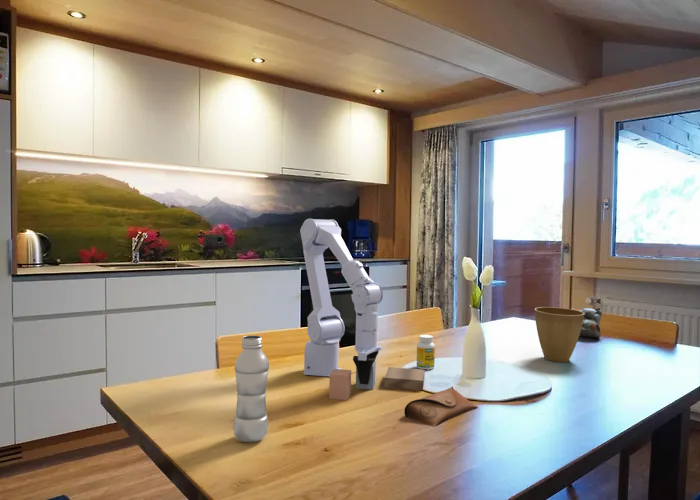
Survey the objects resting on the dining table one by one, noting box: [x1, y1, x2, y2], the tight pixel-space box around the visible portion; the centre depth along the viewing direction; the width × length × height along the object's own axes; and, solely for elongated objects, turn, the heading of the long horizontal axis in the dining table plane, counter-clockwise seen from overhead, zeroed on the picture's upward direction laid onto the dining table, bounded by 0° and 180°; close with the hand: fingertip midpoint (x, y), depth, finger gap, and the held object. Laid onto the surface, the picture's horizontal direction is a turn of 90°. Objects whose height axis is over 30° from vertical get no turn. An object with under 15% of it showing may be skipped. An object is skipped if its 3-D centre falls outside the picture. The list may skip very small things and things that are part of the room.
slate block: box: [355, 361, 377, 390], centre depth 127 cm, size 4×4×6 cm
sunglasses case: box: [403, 386, 479, 427], centre depth 110 cm, size 18×7×7 cm, turn 135°
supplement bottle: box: [416, 334, 436, 371], centre depth 145 cm, size 5×5×10 cm
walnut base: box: [383, 366, 426, 391], centre depth 130 cm, size 10×10×3 cm
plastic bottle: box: [232, 335, 270, 443], centre depth 94 cm, size 6×7×20 cm
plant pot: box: [534, 306, 584, 363], centre depth 157 cm, size 15×15×16 cm
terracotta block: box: [328, 369, 352, 401], centre depth 119 cm, size 4×4×6 cm
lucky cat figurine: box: [579, 307, 603, 340], centre depth 193 cm, size 15×12×14 cm
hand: (365, 380), depth 127 cm, fingers open, 5 cm apart
